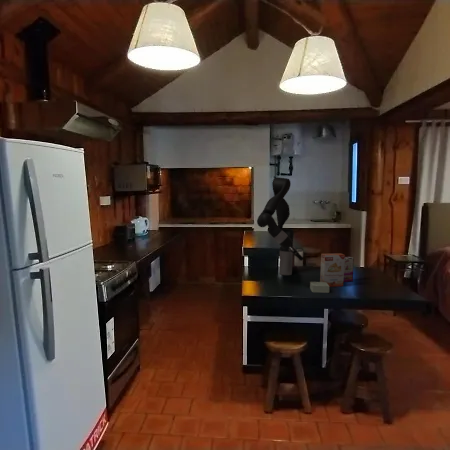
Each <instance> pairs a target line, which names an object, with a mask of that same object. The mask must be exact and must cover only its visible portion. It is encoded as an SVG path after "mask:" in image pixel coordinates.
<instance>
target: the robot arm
mask: <svg viewBox="0 0 450 450" xmlns="http://www.w3.org/2000/svg"><path fill="white" fill-rule="evenodd" d="M271 185H272V186H271V187H272V191H273V196H272V197H271V198H269V199H268V201H266V205H265V206H264V208H263V210H262V211H261V212H260V214H259V216H258V217H257V220H256V223H257V225H258V226H259V228H265V227H268V230H267V231H268V234H269V235H270V236H271V237H272V238H273V239H274V240H275V241H276V243H277V244H278V245H280V246H279V263H278V264H279V268H278V269H279V270H278V271H279V272H278V273H279V275H281V276H292V274H293V255H294V256H296V257H298V258H299V259H300V260H301V261H302V260H303V261H304V256H303V257H302V256H301V255H300V254H299V253H298V252H297V250H296V249H297V247H295V246H294V233H295V232H294V229H293V228H283V227H284V225H285V223H286V222H287V221H288V219H289V217H290V216H291V215H290V214H291V212H290V205H289V203H288V202H287V200H286V199H285V197H286V196H287V193H288V192H289V190H290V188H291V179H289V178H288V177H287V178H286V177H279V176H277V177H274V178H273V180H272V184H271ZM275 213H276V214H275ZM274 214H275V215H276V221H277V222H276V221H275V219H274V217H273V215H274ZM296 252H297V254H295V253H296Z"/></svg>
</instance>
